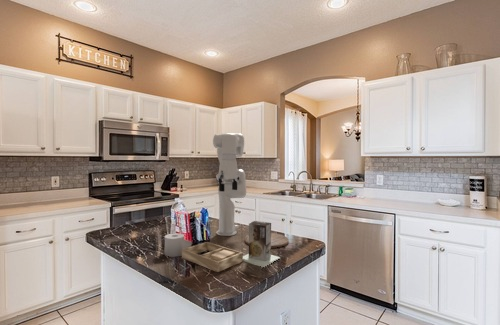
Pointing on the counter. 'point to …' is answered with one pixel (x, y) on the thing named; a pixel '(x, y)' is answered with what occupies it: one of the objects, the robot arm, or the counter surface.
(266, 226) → the coffee box
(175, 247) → the toilet tissue
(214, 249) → the wooden tray
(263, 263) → the pad
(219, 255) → the offcut top
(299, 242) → the counter surface
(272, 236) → the trivet
